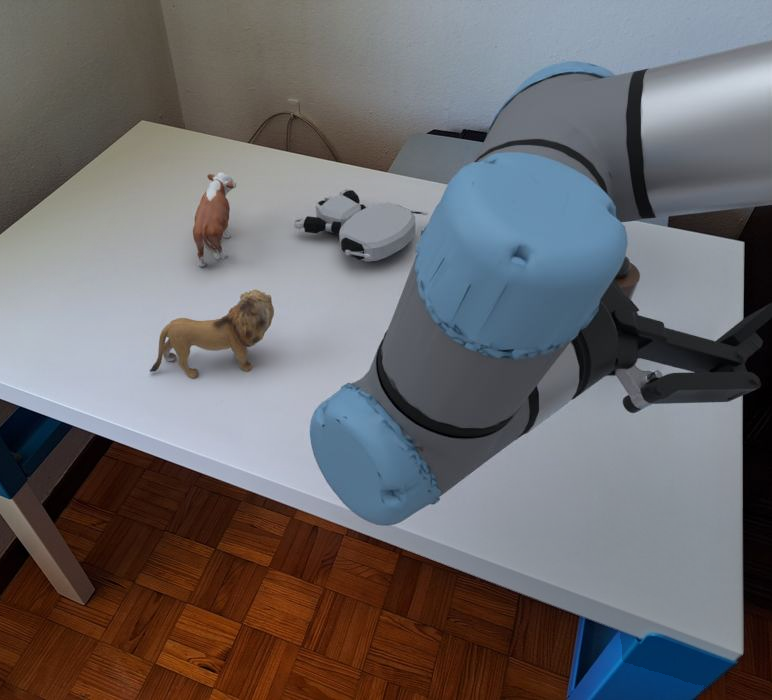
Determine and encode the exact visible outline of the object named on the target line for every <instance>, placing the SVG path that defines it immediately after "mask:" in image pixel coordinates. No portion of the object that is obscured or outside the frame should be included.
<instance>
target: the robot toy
mask: <svg viewBox="0 0 772 700" xmlns="http://www.w3.org/2000/svg"><path fill="white" fill-rule="evenodd" d="M323 199H324V200H323ZM323 199H322V200H320V201H318V202H316V204H315V214H316V216H306V217H305V218H302V217H298V218H296V219H295V220H294V222H293V227H294V229H298V230H300V229H304V233H310V234H319V233H321V232H324V231H326V232H328V233H330V234H336V235H338V236H339V247H340V248H341V251H342V252H343V253H344V254H345V255H346V256H350V257H353V258H354V259H357V260H359V261H363V262H365V263H366V262H368V263H369V262H378V261H381V260H383V259H386V258H388V257H390V256H392V255H394V254H395V253H397V252H399V251H401V250H403V249H404V248H405V247H406V245H408V244H409V242H411V241H412V239H413V238H414V236H415V235H416V216H415V214H416V215H422V216H427V215H429V214H430V213H429V212H428V211H425V210H424V211H419V210H412V209H411V210H410V209H409V208H406V207H403V206H401V205H398V204H395V203H392V202H390V201H388V202H387V201H386V202H378V203H373V204H372V205H369V206H367V207H366V205H365V204H361V203H360V202H361V201H360V196H359V195H358V194H357V192H356V191H354V190H353V189H350V188H346V189H342V190H340V191H339V194H338V195H336V196H326V197H324V198H323Z"/></svg>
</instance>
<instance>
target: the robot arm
mask: <svg viewBox="0 0 772 700" xmlns="http://www.w3.org/2000/svg"><path fill="white" fill-rule="evenodd" d="M445 187H446V188H445V189H444V192H443V194H442V196H441V198H440V200H439V202H438V204H437V205H436V206H435V208H434V209H433V211H432V214H431V215H430V218H429V221H428V222H427V224H426V225H425V227H424V228H423V230H421V231H420V237H419V239H418V241H417V245H416V247H415V254H416V255H415V257H414V260H413V263H412V265H411V267H410V270H409V273H408V276H407V279H406V281H405V284H404V286H403V289H402V291H401V295H400V297H399V299H398V302H397V305H396V308H395V310H394V312H393V315H392V318H391V320H390V323H389V326H388V328H387V329H386V331H385V332H384V335H383V338H382V339H381V340H380V343H379V345H378V347H377V350H376V352H375V353H374V354H375V355H374V356H373V360H372V362H371V364H370V368H369V370H368V371H367V372H366V373H365V375H363V376H362V377H361V378H360V379H358V380H356V381H354V382H347V383H345V384H342V386H341V387H340V389H339V390H337V391H336V392H335V393H334V394H332V395H331V396H330V397H328V398H326V399H325V400H324V401H322V402H321V403H320V404H319V405H318V406H317V407H316V408H315V409H314V411H313V413H312V415H311V418H310V424H309V440H310V446H311V451H312V453H313V457H314V459H315V462H316V464H317V466H318V469H319V471H320V472H321V474H322V476H323V478H324V480H325V481H326V483H327V485H328V486H329V488H330V489H331V490H332V491H333V493H334V494H335V495H336V496H337V498H338V499H339V500H340V501H341V503H342V504H343V505H344V506H345V507H346V508H348V509H349V510H350V512H352V513H353V514H355V515H356V516H358V517H359V518H361V519H362V520H364V521H366V522H368V523H371V524H373V525H376V526H385V527H388V526H394V525H397V524H400V523H402V522H403V521H405V520H407V519H408V518H410V517H411V516H413V515H414V514H416V513H417V512H419V511H421V510H422V509H424V508H426V507H428V506H429V505H432V506H434V505H436V504H437V503H439V502H440V499H441V497H442V496H443V495H444V494H446V493H447V492H448V491H450V490H451V489H452V488H454V487H455V486H456V485H458V484H459V483H460V482H462V481H463V480H464V479H465V478H467V477H468V476H469V475H471V474H472V473H473V472H475V471H476V470H477V469H478V468H480V467H481V466H482V465H484V464H485V463H486V462H488V461H490V460H491V459H492V458H493V457H495V456H496V455H498V454H499V453H501V451H503V450H504V449H505V448H507V447H508V446H510V445H511V444H513V442H515V441H517V440H518V439H520V438H521V437H523V436H524V435H526V434H529V433H530V432H531V431H533V430H534V429H535V428H537V427H538V426H539V425H541V424H542V423H543V422H545V421H546V420H548V419H549V418H550V417H551V416H553V415H554V414H555V413H556V414H557V412H559V411H560V410H561V409H563V408H564V407H565V406H566V405H568V404H569V403H570V402H571V401H572V400H575V399H576V398H577V397H579V396H580V395H582V394H583V393H584V392H586V391H587V390H589V389H590V388H591V387H593V386H594V385H595V384H597V383H599V381H601V380H602V379H604V378H605V377H616V378H617V380H618V381H619V383H620V384H621V385H622V387H623V388H624V390H625V391H626V393H627V394H628V395H625V396H624V397H623V398H622V405H623V407H624V409H625V410H626V411H627V412H629V413H630V414H636V413H638V412H640V411H642V410H644V409H646V408H648V407H650V406H652V405H664V404H665V405H666V404H667V405H668V404H701V403H703V404H704V403H729V402H732V401H733V400H736V399H738V398H741V397H743V396H744V395H747V394H749V393H751V392H753V391H755V390H757V389H760V388H761V386H762V382H761V380H760V378H759V376H757V374H756V373H754V372H751V371H748V369H747V368H746V362H747V360H748V359H749V358H750V357H751V356H752V355H753V354H755V353H756V352H757V351H758V350H759V349H761V348H762V346H763V342H764V341H763V340H762V338H761V337H760V336H759V334H758V333H757V332H756V331H757V330H759V329H760V328H762V327H763V326H764V325H765V324H766V323H768V322H769V321H770V320H771V319H772V302H770V303H769V304H767V305H764V306H763V307H761V308H759V309H758V310H756V311H755V312H753V313H750V314H749V315H748V316H746V317H744V318H743V319H741V320H740V321H739V322H738V323H736V324H735V325H734V326H733V327H731V328H730V329H728V330H727V331H726V332H725V333H724V334H723V335H721V336H720V337H718V338H717V339H716V340H712V339H708V338H706V337H701V336H697V335H693V334H691V333H687V332H684V331H679V330H676V329H672V328H668V327H665V322H663V321H661V320H657V319H653V318H650V317H646V316H644V315H643V316H642V315H640V314H639V313H638V312H639V311H640V309H639V307H638V306H637V305H636V304H635V303H634V301H633V300H632V299H631V300H630V299H629V298H628V297H627V296H626V295H624V294H623V292H622V291H621V289H620V287H619V285H618V284H617V282H616V281H615V280H614V278H615V276H616V275H617V273H618V272H619V270H620V268H621V266H622V264H623V261H624V259H625V256H626V257H627V250H628V233H627V229H626V226H625V225H624V223H628V222H636V221H641V220H648V219H657V218H665V217H675V216H683V215H693V214H702V213H710V212H719V211H727V210H729V211H730V210H736V209H747V208H754V207H764V206H772V39H769V40H766V41H761V42H756V43H752V44H747V45H744V46H739V47H735V48H731V49H727V50H722V51H717V52H714V53H710V54H705V55H701V56H696V57H692V58H689V59H684V60H680V61H676V62H671V63H666V64H663V65H658V66H653V67H648V68H644V69H639V70H635V71H629V72H625V73H620V74H615V73H614V72H613V71H611V70H609V69H608V68H606V67H603V66H600V65H597V64H594V63H590V62H583V61H576V60H570V61H568V60H567V61H561V62H558V63H554V64H551V65H548V66H546V67H543V68H541V69H539V70H538V71H536V72H534V73H533V74H532V75H530V76H529V77H528V78H526V79H525V80H524V81H522V82H521V84H520V85H519V86H518V88H517V89H516V90H515V91H514V93H513V94H511V95H510V96H509V97H508V99H507V100H505V102H504V103H503V104H502V105H501V107H500V108H499V110H498V111H497V112H496V114H495V116H494V118H493V120H492V122H491V124H490V126H489V127H488V129H487V134H486V137H485V139H484V141H483V143H482V145H481V146H480V148H479V150H478V152H477V153H476V156H475V157H474V159H473V161H471V163H469V164H467V165H464V166H462V167H461V168H460V169H459V170H458V171H457V172H456V174H454V176H453V177H451V179H450V181H449V182H448V184H447V185H446V186H445ZM638 359H639V360H641V359H642V360H645V361H649V362H653V363H657V364H660V365H665V366H668V367H672V368H675V369H680V370H684V371H688V372H671V373H667V374H665V375H663V373H662V372H661V370H654V371H651V370H642V369H640V368H638V367H637V366H636V363H637V361H638Z"/></svg>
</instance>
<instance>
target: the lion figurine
mask: <svg viewBox="0 0 772 700" xmlns="http://www.w3.org/2000/svg"><path fill="white" fill-rule="evenodd" d="M239 298H240V300H239V301H238V302H237V304H235V305H233V307H231V308H229V310H228V313H227V314H226V315H224V316H222V317H221V318H216V319H207V320H195V319H191V318H188V317H187V318H186V317H179V318H176V319H173V320H171V321H170V322H169V323H168V324H166V325H165V326H164V327H163V329H162V330H161V332H160V335H159V339H158V351H157V352H158V355H157V358H156V361H155V362H154V364H153V365H152V367H151V368H150V369H149V373H152V372H157V371H158V370H159V369H160V366H161V364H162V361H163V358H164V360H166V361H167V362H173V361H175V360H176V359H177V357H178V362H177V365H178V366H179V367H180V368H181V369H182V371H184V373H185V375H186V376H187V377H188V378H190V379H195V378H197V377H198V376H199V370H198V369H197V368H193V367H190V366H189V364H188V361H189V357H190V354H191V347H192V346H194V347H197V348H200V349H202V350H206V351H212V352H213V351H214V352H218V351H224V350H228V349H231V351H232V353H233V354H234V355H235V358H236V360H237V364H238V366H239V368H240V369H241V370H242V371H245V372H249V371H251V370H252V368H253V365H252V362H250V361H248V360H247V359H248V358H247V357H248V348H251V347H253V346H255V345H256V344H257V343H259V342H260V341H262V340H263V339H264V336H265V334H266V332H267V330H268V329H269V328H270V327H271V325H272V321H273V318H274V316H275V309H274V308H275V307H274V305H273V302H272V296H271V294H267V293H266V292H262V291H260V290H258V289H253V290H250V291H245V292H243V293H241V294H240V295H239ZM167 338H168V339H167ZM166 340H167V341H166ZM172 349H173V350H174V352H171V351H172ZM175 353H176V354H175Z"/></svg>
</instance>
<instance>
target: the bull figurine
mask: <svg viewBox="0 0 772 700" xmlns="http://www.w3.org/2000/svg"><path fill="white" fill-rule="evenodd" d="M207 179H208V180H209V181H211V182H210V183H209V185H208V187H207V188H206V190H205V191H204V194H202V196H201V198H200V201H199V204H198V207H197V208H196V212H195V215H194V225H193V228H192V237H193V241H194V243H195V245H196V248H197V258H198V267H201V268H204V267H206V264H207V263H206V262H205V260H204V256H205V255H204V254H205V251H204V250H205V248H206V250H207V251H212V255H213V258H214V259H216V260H217V261H219V260H225V259H227V258H228V255H227V253H226V252H224V251H223V247H222V241H223V238H225V239H230V238H231V234H230V233H229V231H228V227H229V219H230V210H231V209H230V207H231V206H230V203H229V200H228V198H227V197H226V196H227V195H228V193H229V192H231V191H232V190H234V189H236V187H237V181H236V180H234V179H233V177H232V176H231V175H229V174H226V173H224V172H222V171H220V172H218V173H217V174H216V175H215V174H213V173H209V174H207Z"/></svg>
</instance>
